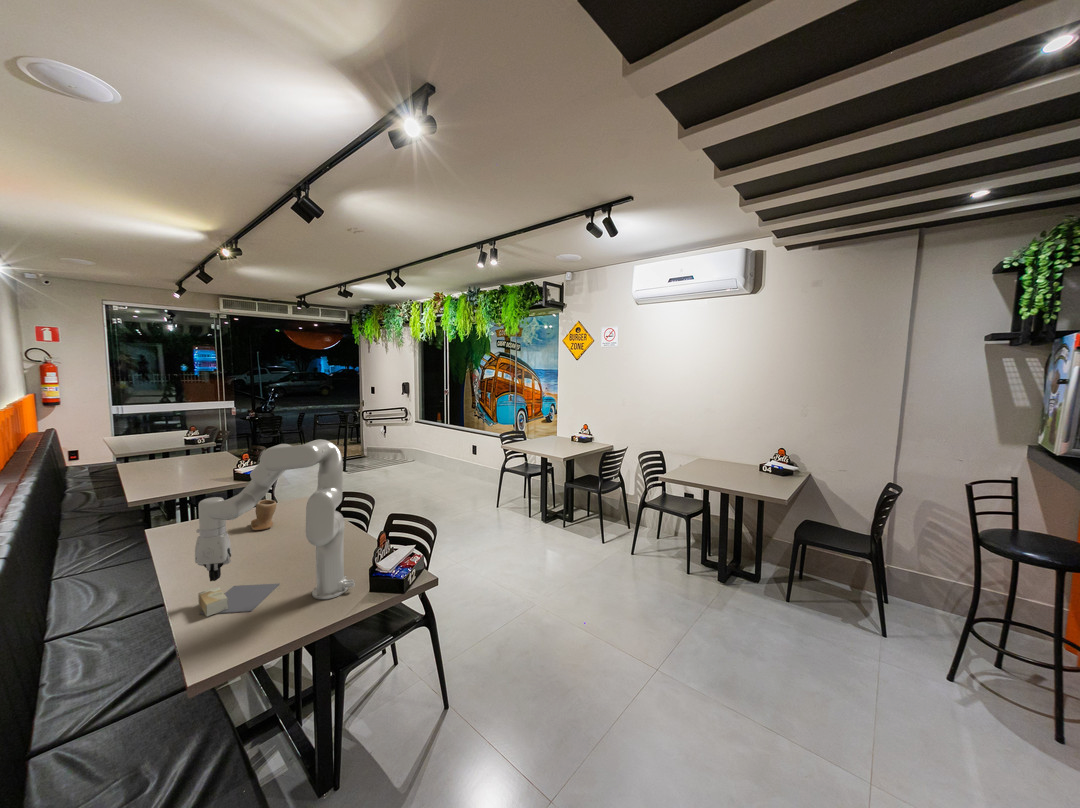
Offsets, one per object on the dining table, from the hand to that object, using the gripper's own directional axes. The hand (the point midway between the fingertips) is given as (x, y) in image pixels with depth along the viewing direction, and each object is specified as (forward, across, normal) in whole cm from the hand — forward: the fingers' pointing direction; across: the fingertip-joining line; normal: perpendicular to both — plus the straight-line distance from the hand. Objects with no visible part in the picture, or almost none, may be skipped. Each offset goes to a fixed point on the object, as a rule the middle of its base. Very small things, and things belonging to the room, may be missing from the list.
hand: (215, 579), depth 148 cm
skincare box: (+6, -2, -1) cm, 6 cm away
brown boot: (+8, -24, +77) cm, 81 cm away
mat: (+8, +9, 0) cm, 12 cm away
